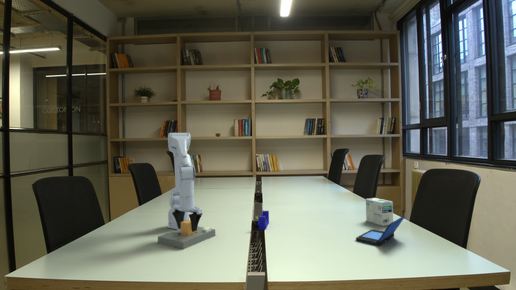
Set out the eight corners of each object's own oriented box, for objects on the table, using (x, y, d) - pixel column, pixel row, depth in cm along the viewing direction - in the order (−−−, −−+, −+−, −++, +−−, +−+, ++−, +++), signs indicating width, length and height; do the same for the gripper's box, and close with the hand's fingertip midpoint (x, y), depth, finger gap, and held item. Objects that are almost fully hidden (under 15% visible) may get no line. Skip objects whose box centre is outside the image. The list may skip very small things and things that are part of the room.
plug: (180, 239, 117) (180, 222, 117) (188, 236, 121) (187, 219, 121) (188, 241, 115) (187, 223, 115) (195, 238, 119) (194, 221, 119)
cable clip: (259, 222, 141) (259, 210, 141) (269, 223, 140) (268, 210, 140) (255, 230, 129) (255, 216, 129) (265, 230, 128) (265, 217, 128)
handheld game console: (371, 232, 123) (371, 210, 123) (405, 239, 114) (405, 215, 114) (354, 241, 112) (354, 217, 112) (390, 250, 103) (390, 223, 103)
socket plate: (157, 242, 114) (157, 234, 114) (190, 230, 129) (190, 222, 129) (183, 249, 106) (183, 239, 106) (215, 235, 122) (215, 227, 122)
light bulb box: (393, 224, 133) (393, 201, 133) (382, 226, 131) (382, 202, 131) (376, 219, 143) (376, 197, 143) (365, 220, 140) (365, 198, 140)
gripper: (166, 196, 118) (167, 229, 118) (192, 199, 111) (193, 235, 111) (179, 193, 124) (180, 225, 124) (205, 196, 117) (206, 230, 117)
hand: (187, 229), depth 118 cm, fingers open, 7 cm apart
